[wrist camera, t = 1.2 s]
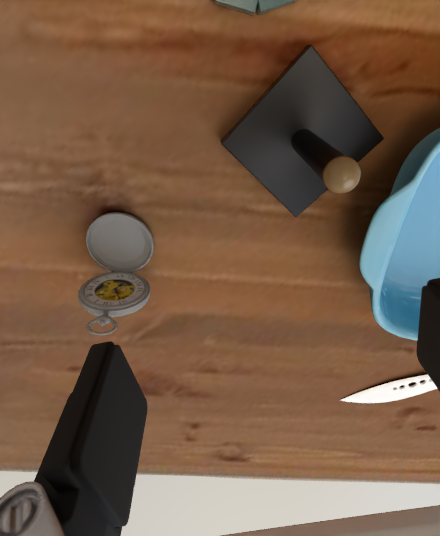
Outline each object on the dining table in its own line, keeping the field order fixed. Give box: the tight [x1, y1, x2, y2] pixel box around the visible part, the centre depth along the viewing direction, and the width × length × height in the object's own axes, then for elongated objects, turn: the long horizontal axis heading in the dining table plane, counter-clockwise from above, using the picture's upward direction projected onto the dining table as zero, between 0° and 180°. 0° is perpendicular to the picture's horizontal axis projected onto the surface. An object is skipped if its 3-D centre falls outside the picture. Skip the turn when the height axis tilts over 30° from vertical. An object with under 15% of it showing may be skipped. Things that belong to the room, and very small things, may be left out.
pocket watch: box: [78, 212, 154, 335], centre depth 33 cm, size 8×8×10 cm
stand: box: [221, 45, 384, 217], centre depth 26 cm, size 10×10×13 cm
